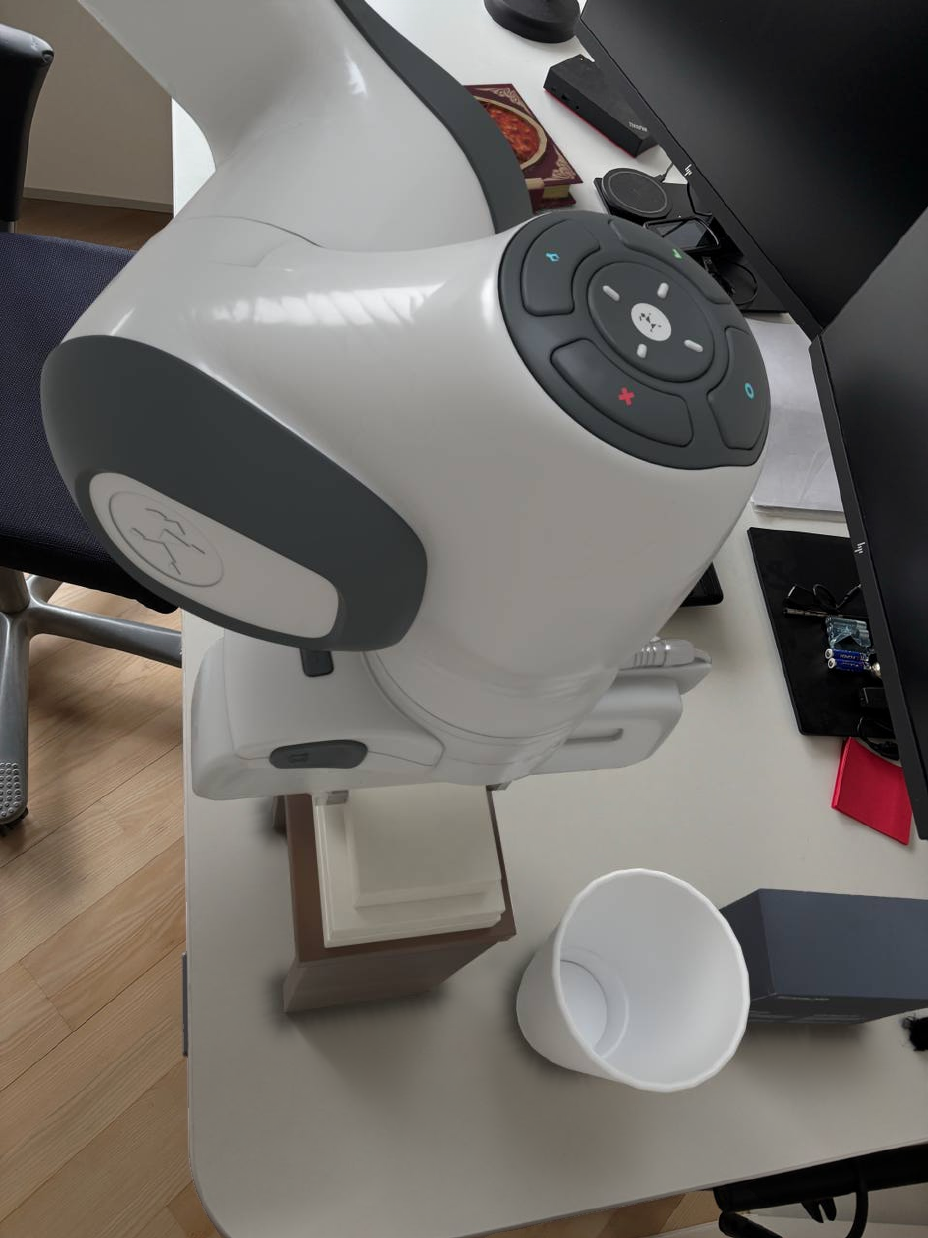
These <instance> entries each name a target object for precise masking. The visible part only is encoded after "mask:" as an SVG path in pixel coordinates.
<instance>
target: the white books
mask: <svg viewBox="0 0 928 1238" xmlns="http://www.w3.org/2000/svg"><path fill="white" fill-rule="evenodd" d="M312 804H313V816H314V828H315V840H316V852H317V863H318V875H319V887H320V899H321V911H322V923H323V935H324V946H325V948H330V947H338V946H346V945H354V944H362V943H370V942H377V941H385V940H393V939H401V938H409V937H417V936H425V935H432V934H440V933H448V932H456V931H464V930H472V929H480V928H488V927H492V926H493V925H495V924H496V923H497V922H498V921H500V920H501V916H500V914H501V913H503V912H504V911H505V904H504V898H503V892H502V886H501V881H499V882H498V883H497V884H496V885H495V886H494V887H493V888H491V889H490V890H489V891H488V892H486V893H478V894H469V895H461V896H452V897H443V898H435V899H426V900H418V901H409V902H400V903H392V904H383V905H374V906H366V907H357V908H354V907H353V906H352V896H351V886H350V876H349V866H348V856H347V846H346V836H345V826H344V816H343V806H342V804H334V805H322V806H315V804H314V796H312Z"/></svg>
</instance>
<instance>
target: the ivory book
mask: <svg viewBox="0 0 928 1238" xmlns="http://www.w3.org/2000/svg"><path fill="white" fill-rule="evenodd" d="M342 806H343V816H344V826H345V836H346V846H347V856H348V866H349V876H350V886H351V896H352V906H353V907H354V908H357V907H366V906H374V905H383V904H392V903H400V902H409V901H418V900H426V899H435V898H443V897H452V896H461V895H469V894H478V893H486V892H488V891H489V890H490V889H491V888H493V887H494V886H495V885H496V884H497V883H498V882H499V881H500V880H501V872H500V866H499V861H498V855H497V849H496V843H495V838H494V832H493V826H492V821H491V815H490V809H489V803H488V798H487V792H486V786H467V785H457V784H452V783H447V782H440V783H428V784H415V785H403V786H390V787H378V788H366V789H353V790H349V795H348V798H347V799H346V803H343V804H342Z"/></svg>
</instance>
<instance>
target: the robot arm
mask: <svg viewBox="0 0 928 1238" xmlns="http://www.w3.org/2000/svg"><path fill="white" fill-rule="evenodd" d="M76 1H77V2H78V3H79V5H81V6H82V7H83V8H84V9H85V11H87V13H89V14H90V16H92V17H93V18H94V19H95V21H96V22H97V23H98V24H100V25H101V27H102V28H103V29H104V30H105V31H106V32H107V33H108V34H109V35H110V36H111V37H112V38H113V39H114V41H116V42H117V43H118V44H119V45H120V46H121V47H122V48H123V49H124V50H125V51H126V52H127V54H129V55H130V57H132V59H134V60H135V62H137V63H138V65H139V66H140V67H141V68H142V69H143V70H144V71H145V72H146V73H148V75H149V76H150V77H151V78H152V79H153V80H154V81H155V82H156V83H157V84H158V85H159V87H161V89H163V90H164V91H165V92H166V93H167V94H168V95H169V97H170V98H172V99H173V101H175V103H177V105H179V107H180V108H181V109H182V110H183V111H184V112H185V113H186V114H187V115H188V116H189V117H190V119H191V120H193V121H194V123H195V124H196V126H197V127H198V128H199V130H200V132H201V133H202V135H203V137H204V138H205V140H206V142H207V144H208V148H209V150H210V153H211V156H212V160H213V163H214V168H215V171H214V172H212V174H211V176H209V178H208V179H206V181H205V182H204V183H203V185H202V186H201V187H199V189H198V190H197V191H196V192H195V193H194V195H193V196H192V197H190V199H189V200H188V201H187V202H186V204H184V205H183V207H182V208H180V210H179V211H178V212H177V213H176V214H175V216H174V217H173V218H172V219H171V220H170V221H169V223H167V225H166V226H164V227H163V228H162V229H161V230H159V231H158V232H157V233H156V234H154V235H152V236H151V237H149V239H148V240H147V241H146V242H145V243H144V244H143V245H142V246H141V248H139V250H138V251H137V252H136V253H135V254H134V255H133V257H132V258H131V259H129V261H128V262H127V263H126V264H125V265H124V266H123V268H122V269H121V270H120V271H119V272H118V273H117V274H116V275H115V276H114V277H113V278H112V280H111V281H110V282H109V283H108V284H107V285H106V286H105V288H103V290H102V291H101V292H100V294H99V295H98V296H97V297H96V298H95V299H94V300H93V302H92V303H91V304H90V305H89V306H88V307H87V308H86V310H85V311H84V312H83V313H82V314H81V315H80V316H79V318H78V319H77V321H76V322H75V323H74V324H73V326H72V327H71V328H70V329H69V330H68V332H67V333H66V335H65V336H64V337H63V339H62V340H61V342H60V343H59V344H58V345H57V346H55V347H54V348H53V349H52V350H51V351H50V353H49V354H48V355H47V357H46V359H45V360H44V363H43V365H42V370H41V374H40V383H39V385H40V386H39V387H40V388H39V390H40V391H39V393H40V395H39V396H40V397H39V398H40V408H41V409H40V410H41V418H42V422H43V427H44V433H45V436H46V439H47V444H48V446H49V450H50V453H51V455H52V458H53V460H54V463H55V465H56V467H57V470H58V472H59V474H60V476H61V478H62V480H63V482H64V485H65V486H66V488H67V491H68V492H69V494H70V496H71V498H72V500H73V502H74V504H75V505H76V507H77V509H78V511H79V513H80V515H82V517H83V519H84V521H85V522H86V524H87V526H88V527H89V529H90V531H91V532H92V534H93V536H94V537H95V538H96V539H97V541H98V542H99V544H100V545H101V546H102V548H103V549H104V550H105V551H106V552H107V554H108V555H109V556H110V557H111V558H112V559H113V561H115V563H117V565H118V566H119V567H120V568H121V569H122V570H123V571H125V572H126V573H127V574H128V576H130V577H131V578H132V579H133V580H134V581H136V582H137V583H138V584H140V585H141V586H142V587H144V588H145V589H147V590H148V591H149V592H151V593H152V594H154V595H156V596H158V598H161V599H163V600H164V601H166V602H168V603H169V604H171V605H173V606H175V607H177V608H179V609H181V610H183V611H185V612H187V613H188V614H191V615H193V616H195V617H197V618H199V619H201V620H203V621H206V622H207V623H211V624H212V625H214V626H218V627H219V628H222V629H223V636H222V637H221V638H219V639H217V641H215V642H214V643H213V644H212V645H211V646H210V647H209V648H208V650H207V651H206V653H205V654H204V656H203V658H202V660H201V662H200V665H199V668H198V672H197V674H196V678H195V680H194V685H193V690H192V696H191V706H190V767H191V768H190V769H191V789H192V792H193V794H194V795H195V796H197V797H200V798H203V799H207V800H211V801H231V800H241V799H253V798H254V799H255V798H265V797H273V796H279V795H291V794H304V793H307V794H310V795H312V796H314V804H315V806H322V805H334V804H343V803H346V799H347V798H348V795H349V790H353V789H366V788H378V787H390V786H403V785H415V784H428V783H440V782H447V783H452V784H457V785H467V786H486V791H492V792H497V791H498V792H499V791H506V790H507V789H508V787H509V786H510V785H511V784H512V783H513V781H514V782H515V781H518V780H520V779H523V778H526V777H528V776H537V775H547V774H548V775H549V774H562V773H573V772H575V773H576V772H583V771H584V772H586V771H587V772H588V771H599V770H600V771H601V770H612V769H613V770H614V769H615V770H616V769H622V768H623V769H624V768H627V767H630V766H633V765H636V764H639V763H642V762H644V761H646V760H648V759H649V758H651V757H652V756H653V755H654V754H655V753H656V751H658V750H659V749H660V747H661V746H662V745H663V744H664V743H665V742H666V740H667V739H668V738H669V736H670V735H671V734H672V732H673V731H674V730H675V728H676V727H677V725H678V723H679V721H680V719H681V718H682V715H683V711H684V705H683V702H682V698H681V696H682V695H685V694H688V693H689V692H690V691H692V690H693V689H695V688H696V687H697V686H698V685H699V684H700V683H701V682H702V681H703V680H704V679H705V678H706V677H707V676H708V675H709V674H710V673H711V671H712V656H711V654H710V653H709V652H708V651H707V650H705V649H703V648H699V647H695V646H694V643H692V641H690V640H688V639H684V638H678V637H677V638H676V637H675V638H674V637H673V638H672V637H671V638H670V637H669V638H660V637H659V636H657V634H658V633H659V632H660V631H661V630H662V628H663V627H664V626H665V625H666V623H668V621H669V620H670V618H671V617H673V614H675V613H676V612H677V610H678V609H679V608H680V606H681V605H682V604H683V602H684V601H685V600H686V598H687V597H688V596H689V595H690V593H691V592H692V591H693V589H694V588H695V587H696V585H697V584H698V582H699V581H700V580H701V578H702V577H703V575H704V574H705V572H706V571H707V570H708V568H709V567H710V566H711V565H712V563H713V561H714V560H715V558H716V557H717V555H718V554H719V553H720V551H721V549H722V548H723V546H724V545H725V543H726V541H727V540H728V539H729V538H730V535H731V534H732V532H733V530H734V529H735V527H736V525H738V524H737V523H738V522H739V520H740V518H741V517H742V515H743V513H744V511H745V509H746V507H747V505H748V503H749V501H750V500H751V497H752V496H753V493H754V492H755V489H756V486H757V484H758V482H759V479H760V477H761V474H762V471H763V468H764V464H765V461H766V458H767V454H768V450H769V443H770V434H771V422H772V421H771V419H772V418H771V413H772V401H771V400H772V399H771V398H772V397H771V390H770V383H769V378H768V372H767V368H766V365H765V360H764V358H763V355H762V352H761V349H760V347H759V344H758V343H757V340H756V337H755V335H754V333H753V331H752V329H751V328H750V327H751V326H749V323H748V322H747V320H746V319H745V318H746V317H745V316H744V315H743V314H742V312H741V311H740V309H739V308H738V306H737V304H735V302H734V301H733V299H732V297H730V296H729V294H728V293H727V292H726V291H725V290H724V288H723V287H722V286H721V284H719V282H717V280H716V279H715V278H714V277H713V276H712V275H711V274H710V273H709V272H708V271H707V270H706V269H705V268H704V267H702V265H700V264H699V263H698V262H697V261H696V260H695V259H693V258H692V257H691V256H690V255H689V254H688V253H686V252H685V251H683V250H682V249H681V248H680V247H678V246H676V245H675V244H673V243H672V242H670V241H669V240H668V239H667V238H664V237H663V236H661V235H659V234H658V233H656V232H654V231H652V230H650V229H648V228H646V227H644V226H642V225H640V224H637V223H635V222H632V221H630V220H628V219H625V218H622V217H619V216H616V215H612V214H608V213H604V212H598V211H592V210H586V209H585V210H583V209H563V210H557V211H552V212H546V213H543V214H539V215H536V216H534V213H533V212H534V211H532V206H531V201H530V195H529V192H528V188H527V184H526V181H525V178H524V175H523V172H522V170H521V167H520V165H519V162H518V160H517V158H516V156H515V154H514V152H513V150H512V148H511V146H510V144H509V142H508V141H507V139H506V137H505V136H504V134H503V132H502V131H501V129H500V128H499V127H498V125H497V124H496V122H495V121H494V119H493V118H492V117H491V116H490V114H489V113H488V112H487V111H486V109H485V108H484V107H483V106H482V105H481V104H480V103H479V102H478V100H477V99H476V98H475V97H474V96H473V95H472V94H471V93H470V92H469V91H468V90H467V89H466V88H465V87H464V86H463V85H464V84H462V83H461V82H459V81H458V79H456V77H454V76H453V75H451V74H450V73H449V72H448V71H447V70H446V69H445V68H444V67H443V66H441V65H440V64H438V62H436V61H435V60H434V59H432V58H431V57H430V56H429V55H428V54H426V53H425V52H424V51H422V50H421V49H420V48H419V47H418V46H416V45H415V44H414V43H412V41H410V40H409V39H407V38H406V37H405V36H404V35H403V34H402V33H401V32H399V31H398V30H397V29H396V28H395V27H394V26H392V24H390V23H389V22H388V21H387V20H386V19H384V17H383V16H381V14H379V13H378V12H377V11H376V10H375V9H374V8H373V7H372V6H371V5H370V4H369V3H368V2H367V1H366V0H76Z"/></svg>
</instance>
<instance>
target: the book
mask: <svg viewBox="0 0 928 1238" xmlns="http://www.w3.org/2000/svg"><path fill="white" fill-rule="evenodd" d="M462 85H463V86H464V87H465V88H466V89H467V90H468V91H469V92H470V93H471V94H472V95H473V96H474V97H475V98H476V99H477V100H478V102H479V103H480V104H481V105H482V106H483V107H484V108H485V109H486V111H487V112H488V113H489V114H490V116H491V117H492V118H493V119H494V121H495V122H496V124H497V125H498V127H499V128H500V129H501V131H502V132H503V134H504V136H505V137H506V139H507V141H508V142H509V144H510V146H511V148H512V150H513V152H514V154H515V156H516V158H517V160H518V162H519V165H520V167H521V170H522V172H523V175H524V178H525V181H526V184H527V188H528V192H529V195H530V201H531V206H532V212H538V210H539V209H540V208H551V207H560V206H571V205H576V203H577V200H576V199H575V198H574V196H573V195H572V193H571V191H570V187H571V185H579V184H580V185H582V184H584V180H583V179H582V178H581V176H580V175H579V174H578V172H577V171H576V169H575V168H574V167H573V166H572V164H571V162H570V161H569V160H568V159H567V157H566V156H565V154H564V153H563V152H562V150H561V149H560V147H559V146H558V145H557V144H556V142H555V140H554V139H553V138H552V137H551V135H550V134H549V132H548V131H547V130H546V129H545V127H544V125H543V124H542V123H541V122H540V120H539V119H538V117H537V116H536V114H535V113H534V112H533V111H532V109H531V108H530V106H529V105H528V104H527V102H526V101H525V99H523V97H522V96H521V94H520V93H519V91H518V90H517V89H516V87H515V86H514V84H513V83H511V82H509V83H486V84H482V83H481V84H462Z"/></svg>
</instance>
